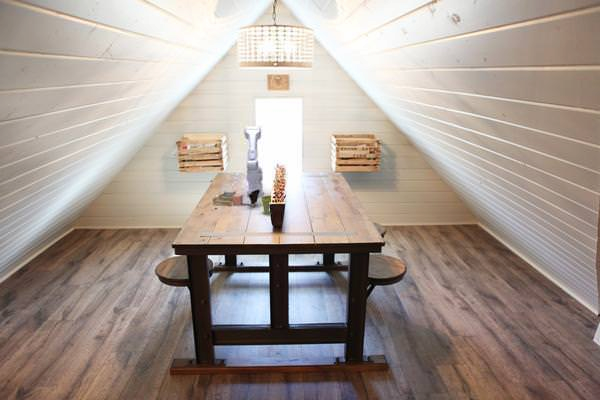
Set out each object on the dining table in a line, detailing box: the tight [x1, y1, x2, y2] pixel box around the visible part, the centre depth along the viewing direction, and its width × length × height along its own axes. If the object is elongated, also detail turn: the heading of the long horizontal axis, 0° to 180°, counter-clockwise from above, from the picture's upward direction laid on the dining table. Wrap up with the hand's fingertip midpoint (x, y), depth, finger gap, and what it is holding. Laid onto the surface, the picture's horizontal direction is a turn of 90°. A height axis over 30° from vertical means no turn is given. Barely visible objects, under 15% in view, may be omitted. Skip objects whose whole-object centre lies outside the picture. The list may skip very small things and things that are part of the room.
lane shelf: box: [212, 190, 233, 207], centre depth 272 cm, size 16×11×4 cm
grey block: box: [226, 189, 237, 198], centre depth 276 cm, size 4×4×6 cm
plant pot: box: [260, 194, 271, 215], centre depth 251 cm, size 9×9×9 cm
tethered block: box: [232, 193, 256, 207], centre depth 265 cm, size 4×13×6 cm, turn 75°
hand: (254, 202), depth 264 cm, fingers closed on tethered block, 2 cm apart
